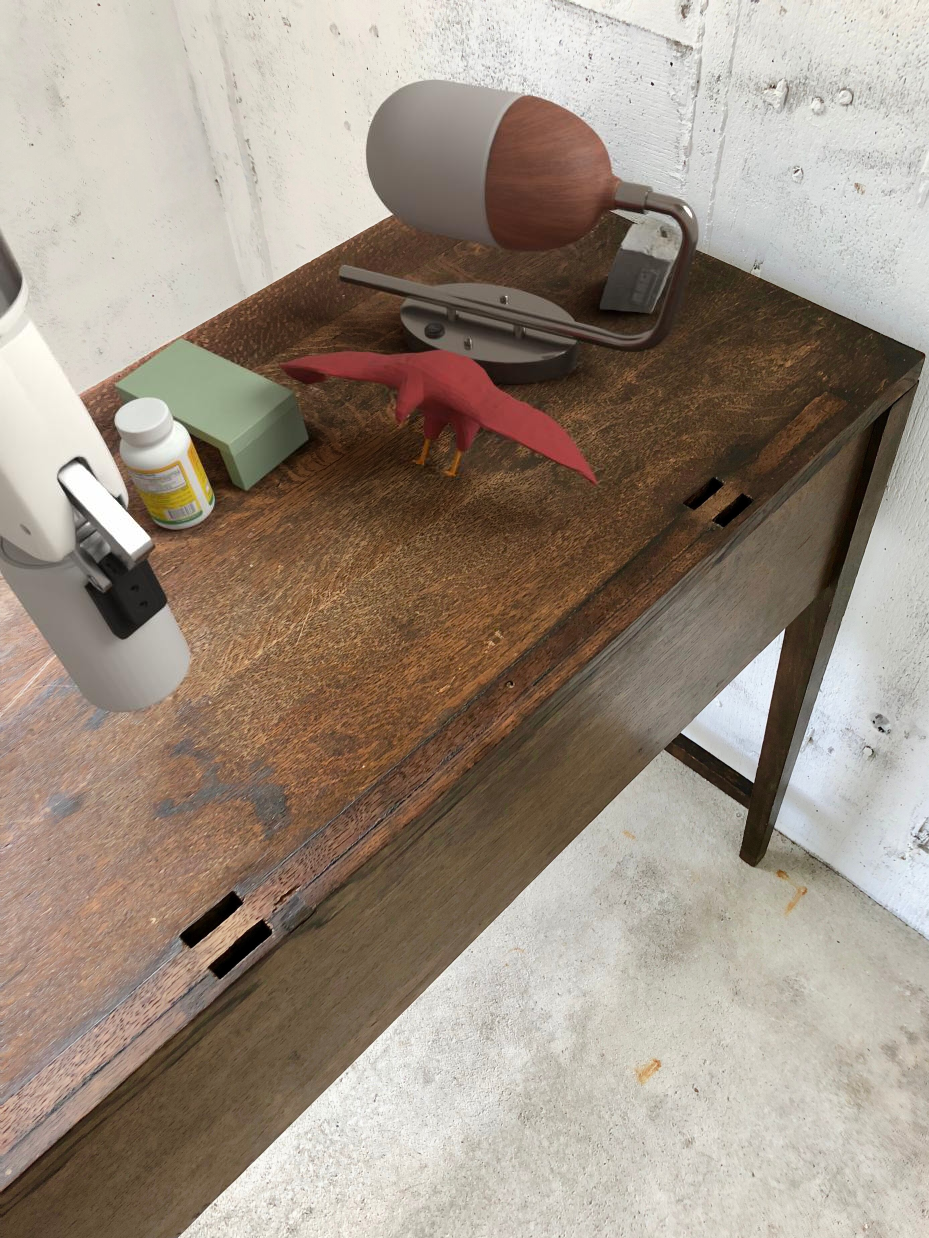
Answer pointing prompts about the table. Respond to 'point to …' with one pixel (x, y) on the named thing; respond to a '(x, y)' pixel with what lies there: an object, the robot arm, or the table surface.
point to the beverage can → (96, 632)
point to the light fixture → (503, 220)
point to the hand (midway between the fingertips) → (96, 588)
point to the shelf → (222, 407)
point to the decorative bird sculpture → (448, 400)
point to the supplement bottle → (163, 464)
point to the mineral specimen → (641, 266)
